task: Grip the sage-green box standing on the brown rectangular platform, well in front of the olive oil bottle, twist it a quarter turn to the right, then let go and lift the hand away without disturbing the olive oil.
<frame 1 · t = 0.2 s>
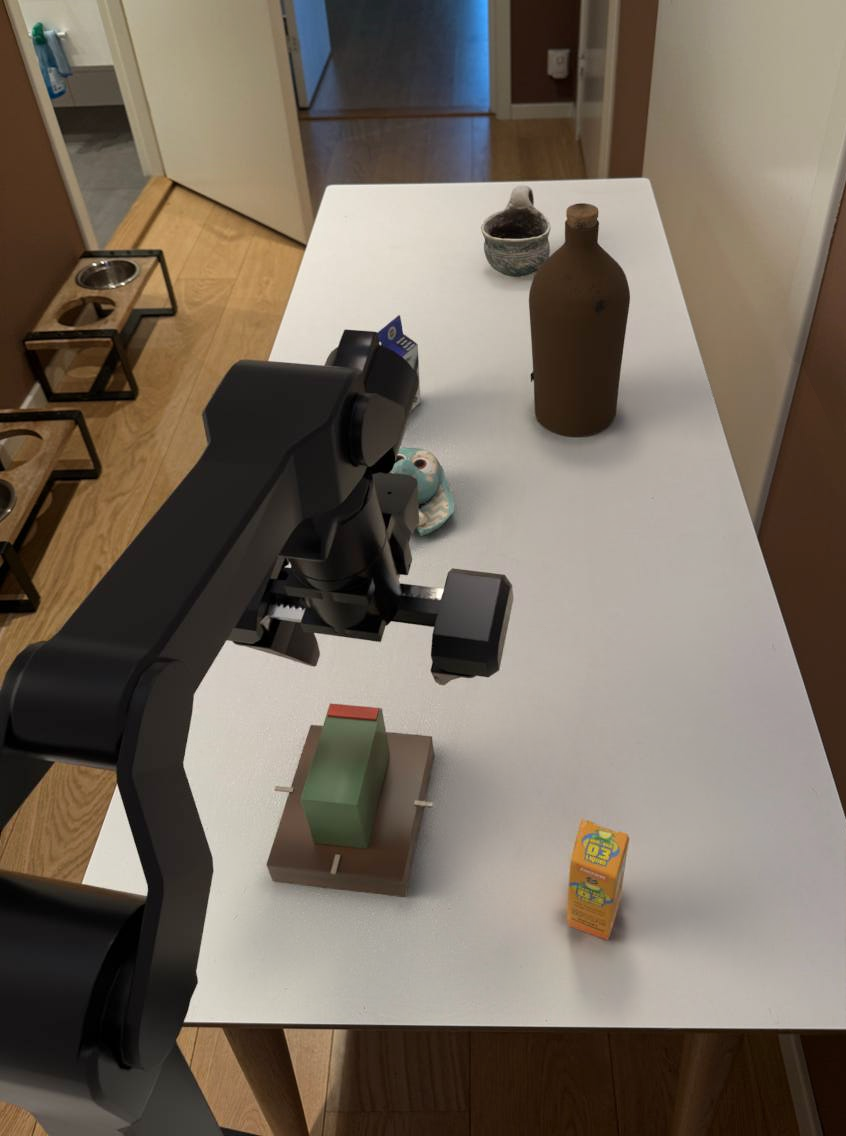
hand: (378, 669, 66), 15 cm above the table, tool pointing down, fingers open, 9 cm apart
supplement box: (592, 916, 67), on the table
brown rectangular platform: (357, 814, 74), on the table
mug: (516, 266, 138), on the table
stuffed animal: (406, 515, 99), on the table
olive oil: (574, 413, 111), on the table
green box: (348, 773, 70), point 6 cm above the table, hinge at 0.0°
ink box: (389, 426, 111), on the table
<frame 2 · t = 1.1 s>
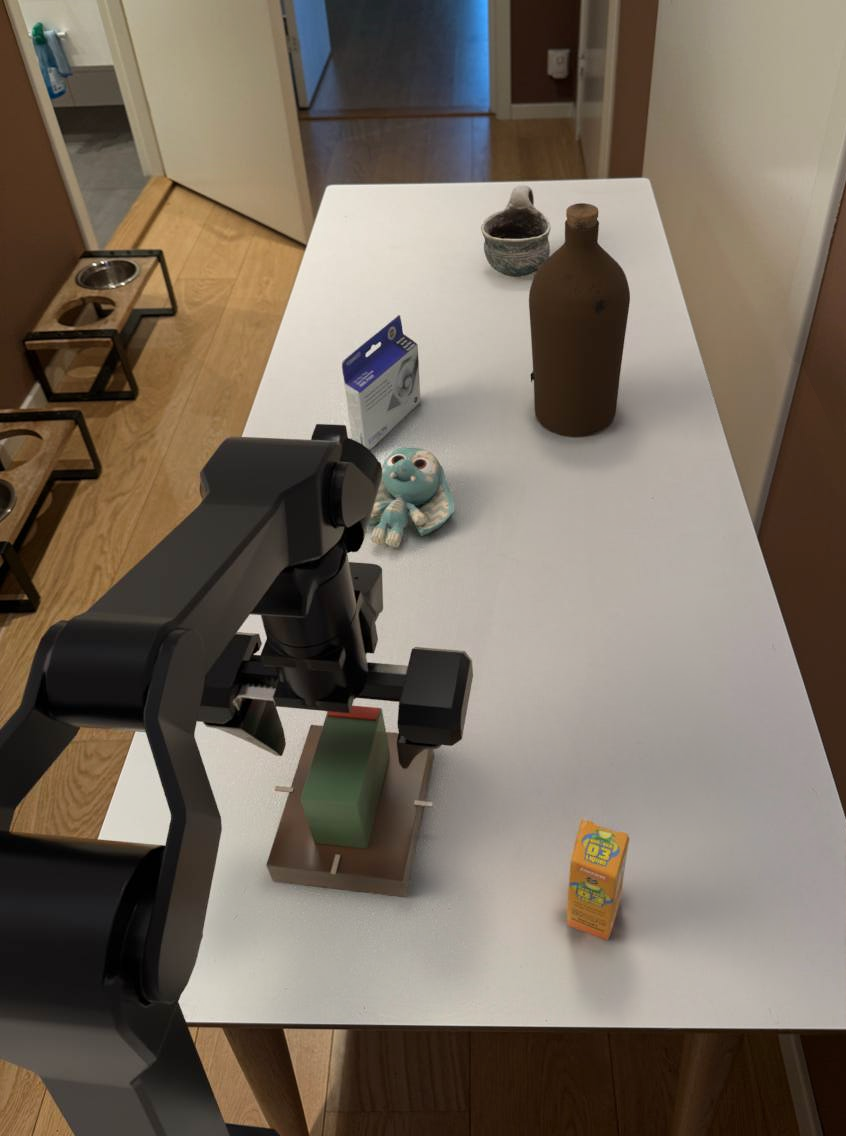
hand: (343, 756, 68), 8 cm above the table, tool pointing down, fingers open, 9 cm apart
nothing on the table moved.
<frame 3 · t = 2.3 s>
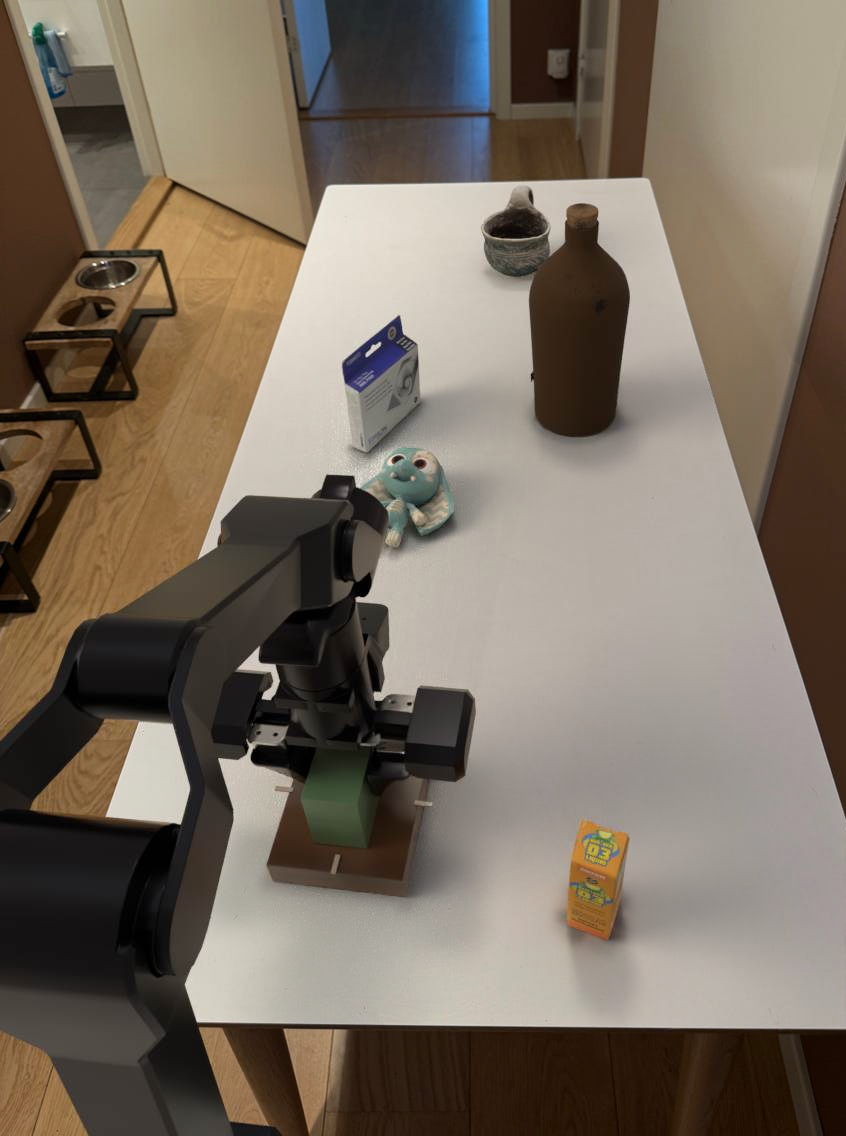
hand: (351, 787, 71), 4 cm above the table, tool pointing down, fingers closed on green box, 4 cm apart
green box: (348, 773, 70), point 6 cm above the table, hinge at 0.0°, touching gripper
everything else where it was.
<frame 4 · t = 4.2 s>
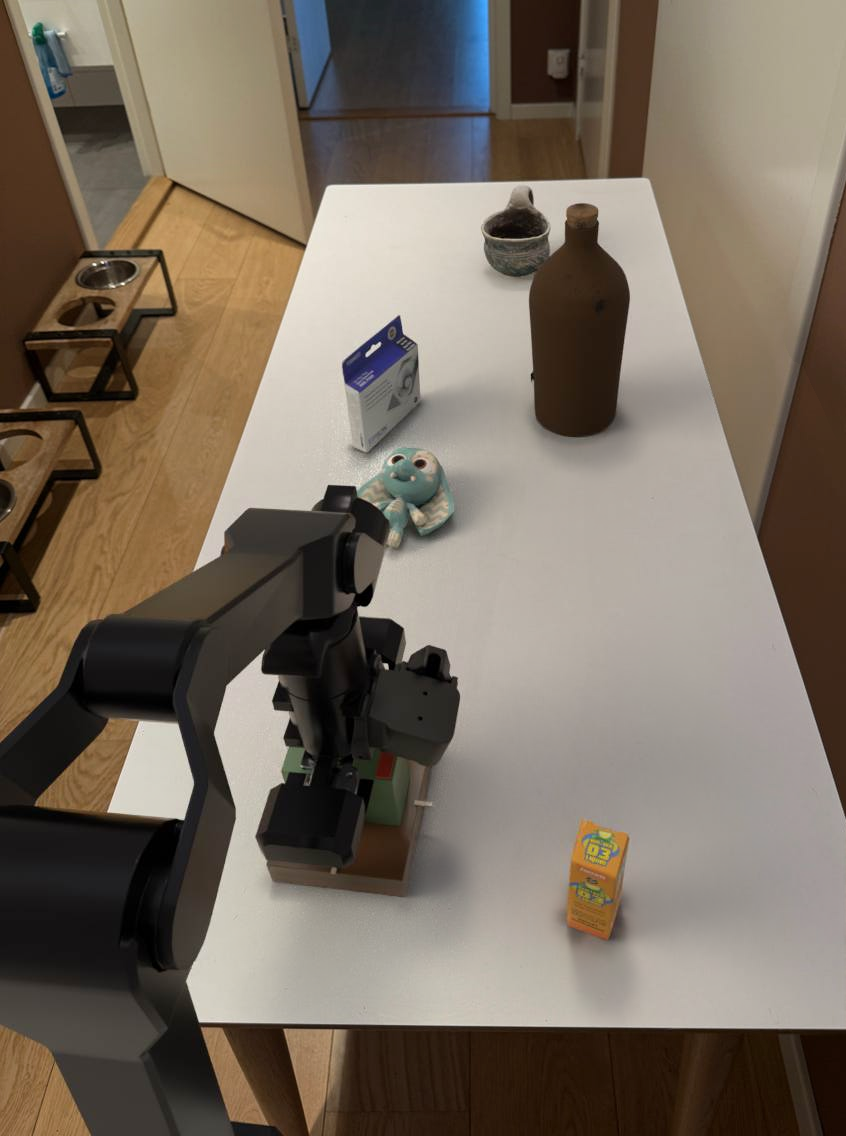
hand: (353, 794, 72), 3 cm above the table, tool pointing down, fingers closed on green box, 4 cm apart
green box: (348, 773, 70), point 6 cm above the table, hinge at -89.5°, touching gripper
everything else where it was.
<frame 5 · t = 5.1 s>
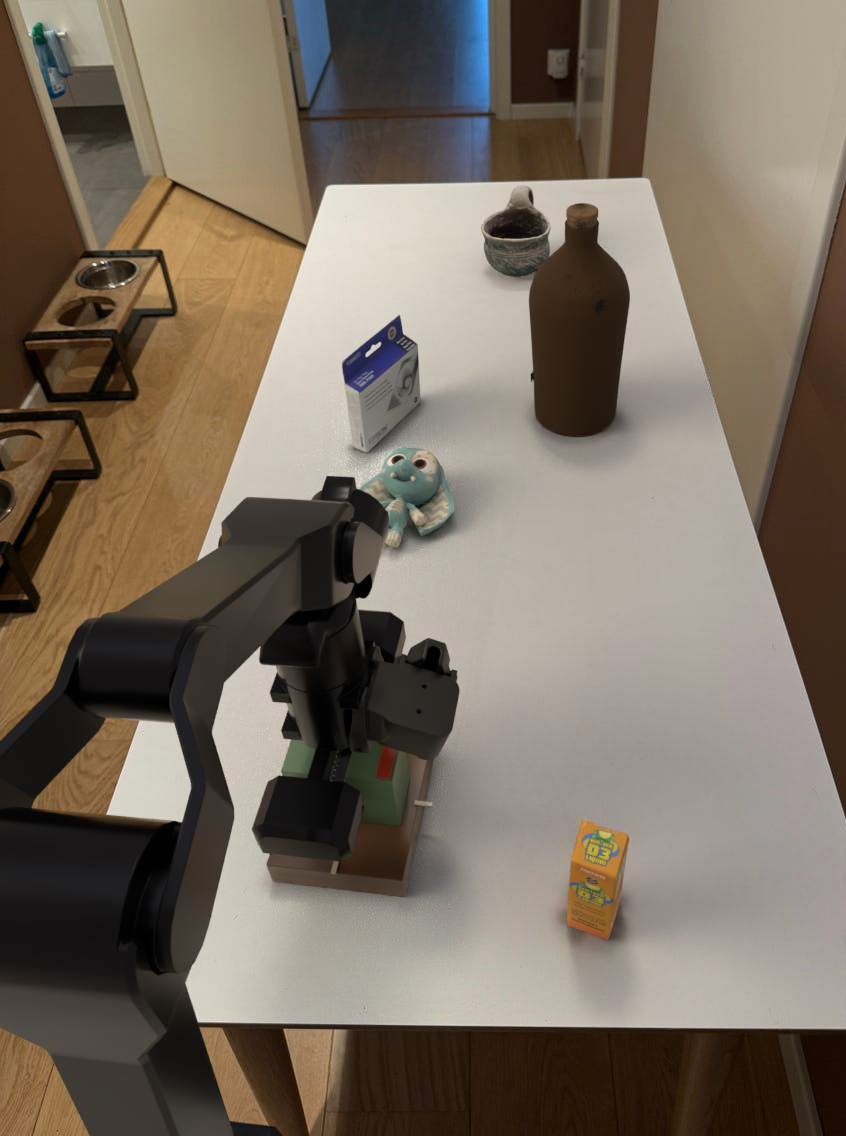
hand: (351, 788, 71), 4 cm above the table, tool pointing down, fingers open, 9 cm apart
green box: (348, 773, 70), point 6 cm above the table, hinge at -89.5°
everything else where it was.
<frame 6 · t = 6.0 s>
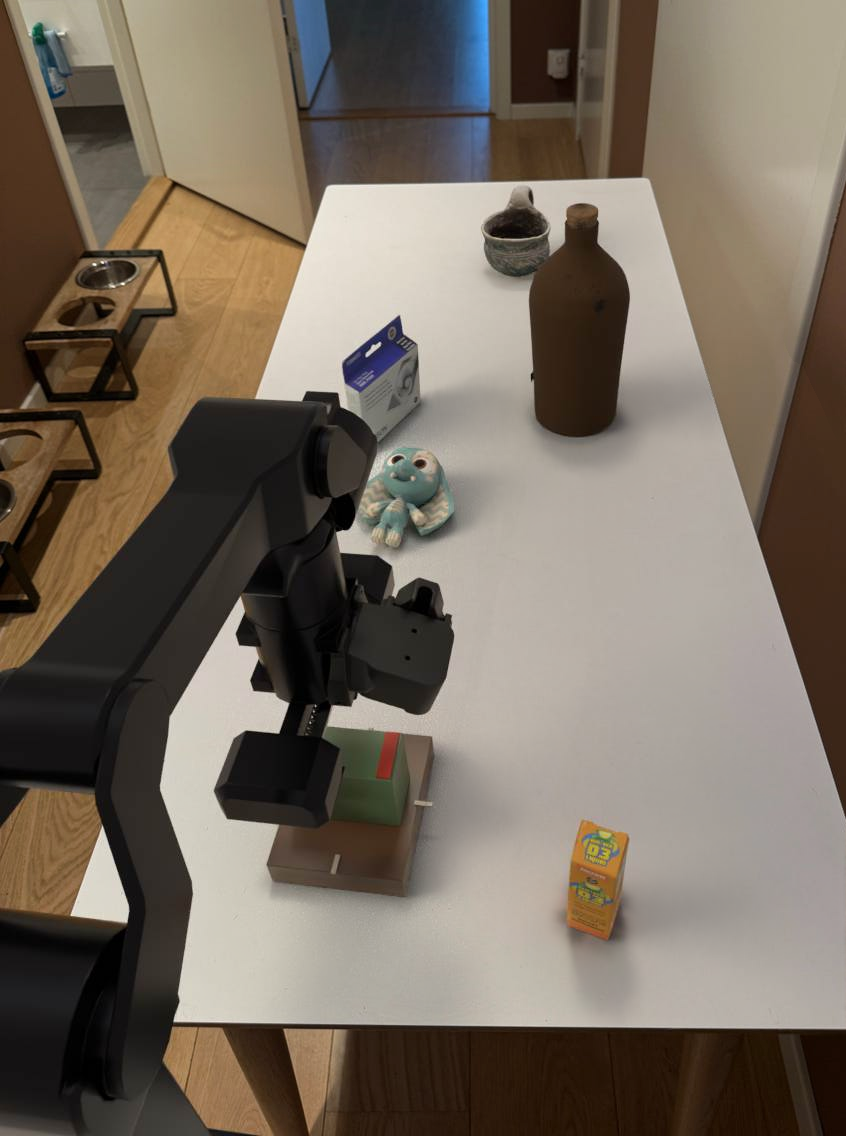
hand: (333, 754, 63), 13 cm above the table, tool pointing down, fingers open, 9 cm apart
nothing on the table moved.
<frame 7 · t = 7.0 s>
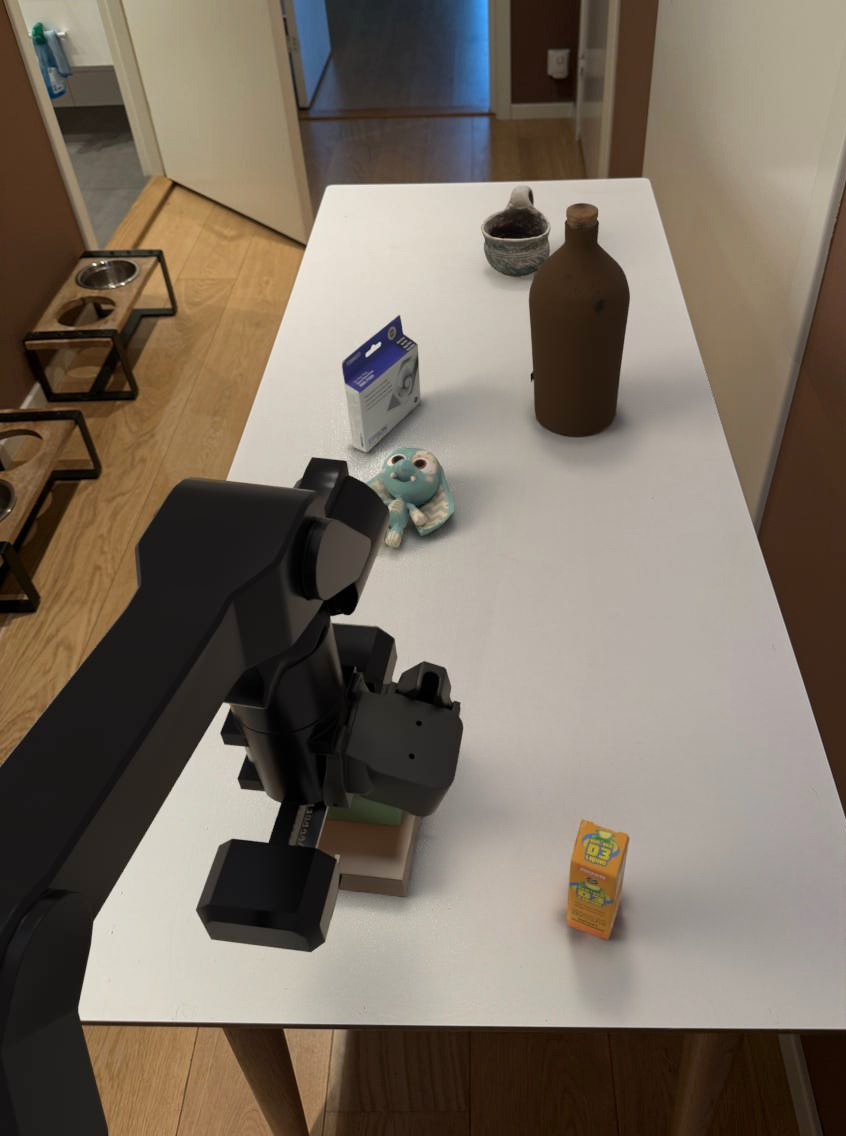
hand: (330, 843, 58), 13 cm above the table, tool pointing down, fingers open, 9 cm apart
nothing on the table moved.
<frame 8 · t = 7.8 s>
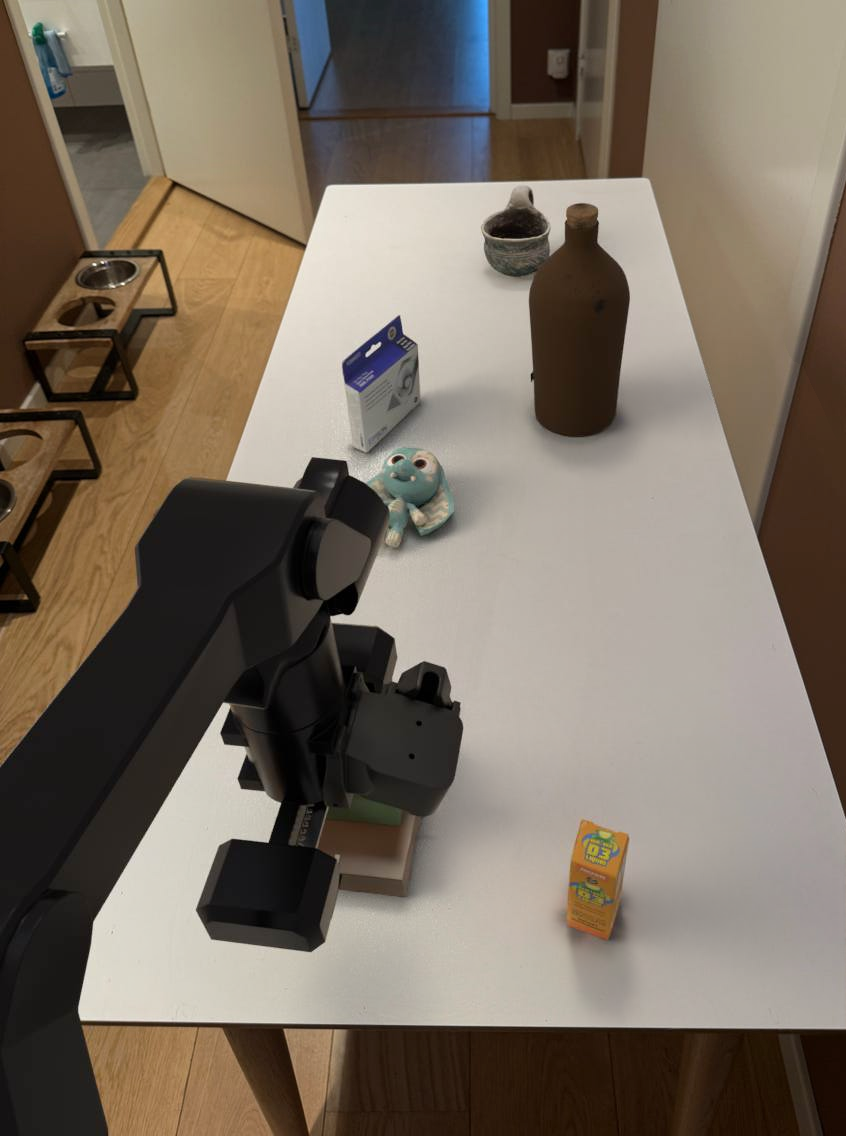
hand: (330, 843, 58), 13 cm above the table, tool pointing down, fingers open, 9 cm apart
nothing on the table moved.
at the end: green box at -90° (first picture: +0°); green box touching nothing; olive oil moved 0.2 cm from its start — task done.
